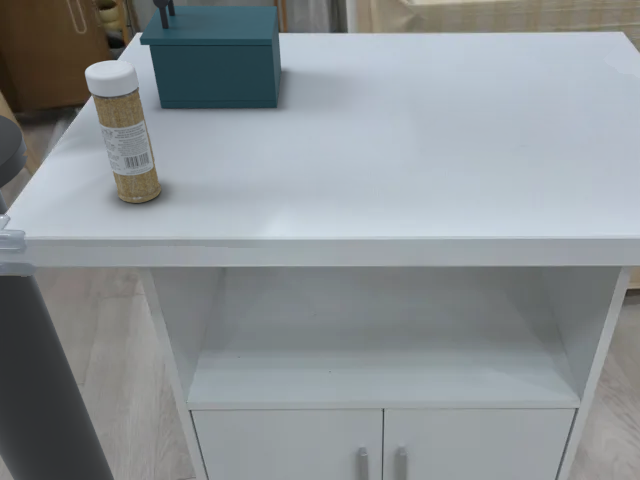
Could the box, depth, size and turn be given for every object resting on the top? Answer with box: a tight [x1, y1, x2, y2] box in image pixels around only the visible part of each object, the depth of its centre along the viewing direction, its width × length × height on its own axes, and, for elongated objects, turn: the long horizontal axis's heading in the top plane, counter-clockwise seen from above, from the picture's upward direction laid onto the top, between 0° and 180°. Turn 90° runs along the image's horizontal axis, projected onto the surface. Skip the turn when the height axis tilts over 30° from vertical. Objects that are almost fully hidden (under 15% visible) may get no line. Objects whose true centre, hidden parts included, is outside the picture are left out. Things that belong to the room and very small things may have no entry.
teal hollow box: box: [148, 14, 282, 109], centre depth 90 cm, size 15×13×8 cm
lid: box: [139, 0, 278, 46], centre depth 86 cm, size 16×13×5 cm
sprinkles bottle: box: [84, 59, 162, 204], centre depth 67 cm, size 5×5×13 cm
